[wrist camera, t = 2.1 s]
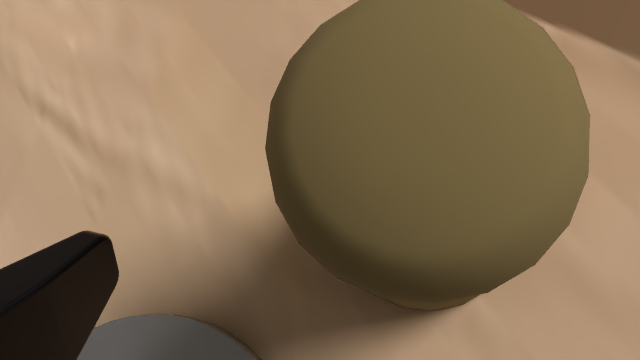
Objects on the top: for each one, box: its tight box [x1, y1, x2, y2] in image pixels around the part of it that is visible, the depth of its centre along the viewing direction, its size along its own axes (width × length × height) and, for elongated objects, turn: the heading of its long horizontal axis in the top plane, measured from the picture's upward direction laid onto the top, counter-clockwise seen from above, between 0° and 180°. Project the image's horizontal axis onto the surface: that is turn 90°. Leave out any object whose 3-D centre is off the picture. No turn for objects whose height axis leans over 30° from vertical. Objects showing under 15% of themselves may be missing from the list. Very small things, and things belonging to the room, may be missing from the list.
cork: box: [265, 0, 590, 311], centre depth 13 cm, size 6×6×11 cm
